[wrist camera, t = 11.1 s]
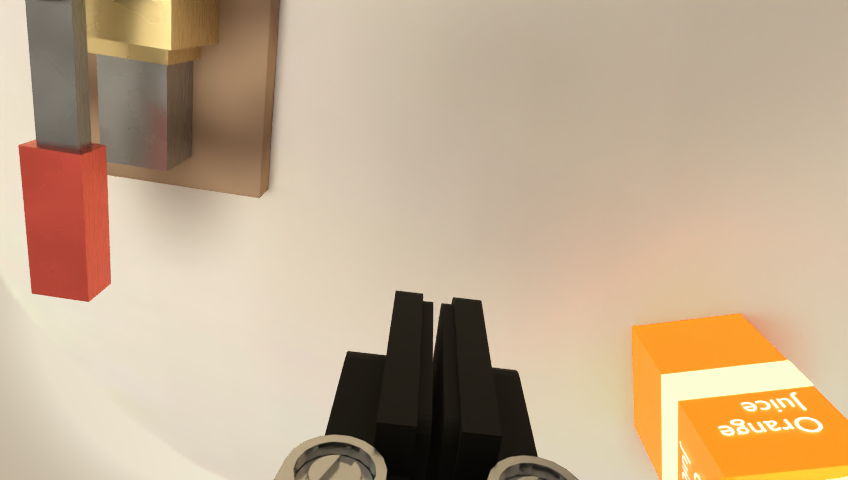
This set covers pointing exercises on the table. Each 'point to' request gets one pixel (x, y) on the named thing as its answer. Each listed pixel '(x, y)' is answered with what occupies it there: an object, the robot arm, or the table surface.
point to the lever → (63, 160)
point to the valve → (148, 75)
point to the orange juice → (730, 406)
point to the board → (222, 106)
